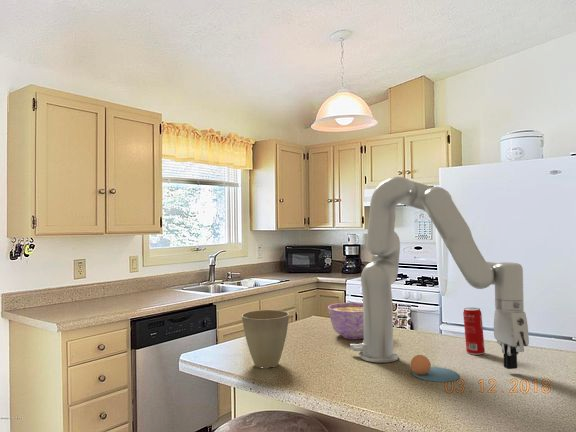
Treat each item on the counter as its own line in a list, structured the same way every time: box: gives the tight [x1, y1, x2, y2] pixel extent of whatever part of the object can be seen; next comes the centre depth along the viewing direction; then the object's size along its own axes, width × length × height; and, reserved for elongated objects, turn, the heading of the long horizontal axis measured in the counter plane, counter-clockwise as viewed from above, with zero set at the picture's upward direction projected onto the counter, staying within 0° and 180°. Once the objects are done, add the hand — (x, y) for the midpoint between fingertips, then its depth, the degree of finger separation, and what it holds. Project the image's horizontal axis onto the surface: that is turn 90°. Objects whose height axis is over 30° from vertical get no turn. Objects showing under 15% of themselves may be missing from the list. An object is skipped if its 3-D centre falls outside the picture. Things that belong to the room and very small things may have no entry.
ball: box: [410, 354, 432, 375], centre depth 132 cm, size 6×6×6 cm
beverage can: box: [462, 307, 486, 356], centre depth 153 cm, size 6×6×15 cm
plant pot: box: [241, 309, 290, 369], centre depth 143 cm, size 15×15×16 cm
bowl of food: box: [327, 302, 364, 340], centre depth 177 cm, size 20×20×12 cm
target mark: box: [411, 366, 460, 383], centre depth 132 cm, size 13×13×1 cm
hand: (510, 367), depth 132 cm, fingers closed
